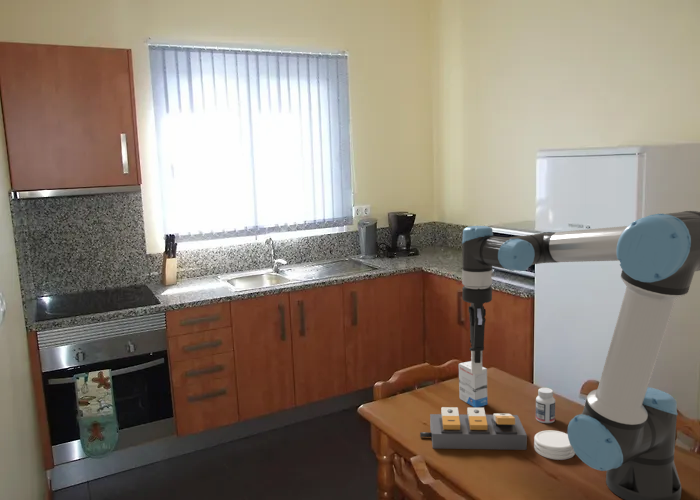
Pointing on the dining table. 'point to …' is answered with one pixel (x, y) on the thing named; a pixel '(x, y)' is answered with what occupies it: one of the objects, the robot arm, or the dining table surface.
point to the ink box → (472, 385)
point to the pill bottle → (545, 406)
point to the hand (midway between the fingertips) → (476, 372)
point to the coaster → (553, 445)
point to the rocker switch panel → (477, 435)
